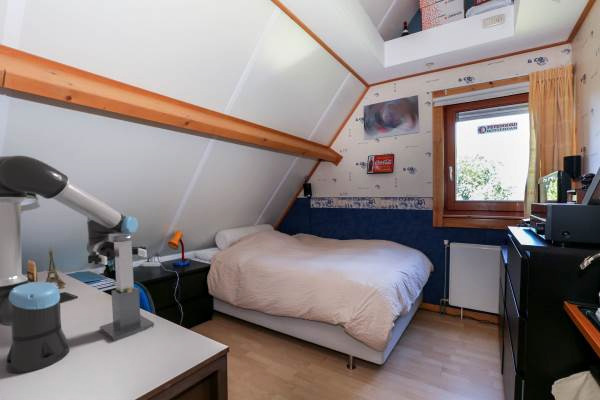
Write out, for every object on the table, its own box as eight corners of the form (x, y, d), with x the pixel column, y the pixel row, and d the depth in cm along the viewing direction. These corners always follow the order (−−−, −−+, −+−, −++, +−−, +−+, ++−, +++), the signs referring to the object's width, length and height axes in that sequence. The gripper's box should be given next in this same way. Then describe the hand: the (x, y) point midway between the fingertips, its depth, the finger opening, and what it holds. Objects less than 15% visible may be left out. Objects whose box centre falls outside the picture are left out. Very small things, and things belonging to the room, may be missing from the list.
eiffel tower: (39, 292, 158) (36, 245, 157) (41, 287, 167) (39, 243, 166) (64, 288, 164) (62, 243, 163) (65, 283, 173) (63, 240, 172)
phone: (64, 291, 156) (78, 296, 148) (64, 293, 156) (78, 298, 148) (46, 296, 149) (59, 301, 142) (46, 299, 149) (59, 304, 142)
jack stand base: (154, 326, 115) (152, 286, 114) (113, 341, 104) (111, 297, 104) (138, 317, 124) (136, 279, 123) (99, 330, 113) (97, 289, 112)
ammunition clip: (37, 281, 179) (36, 261, 178) (33, 281, 177) (32, 262, 177) (31, 278, 185) (30, 259, 184) (27, 279, 183) (26, 259, 183)
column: (138, 307, 114) (135, 235, 113) (120, 312, 109) (116, 238, 108) (131, 303, 118) (128, 234, 117) (113, 308, 113) (109, 236, 112)
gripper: (138, 253, 134) (160, 260, 121) (70, 265, 115) (87, 275, 101) (138, 237, 134) (159, 242, 120) (69, 246, 115) (86, 253, 101)
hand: (126, 257), depth 111 cm, fingers open, 13 cm apart
